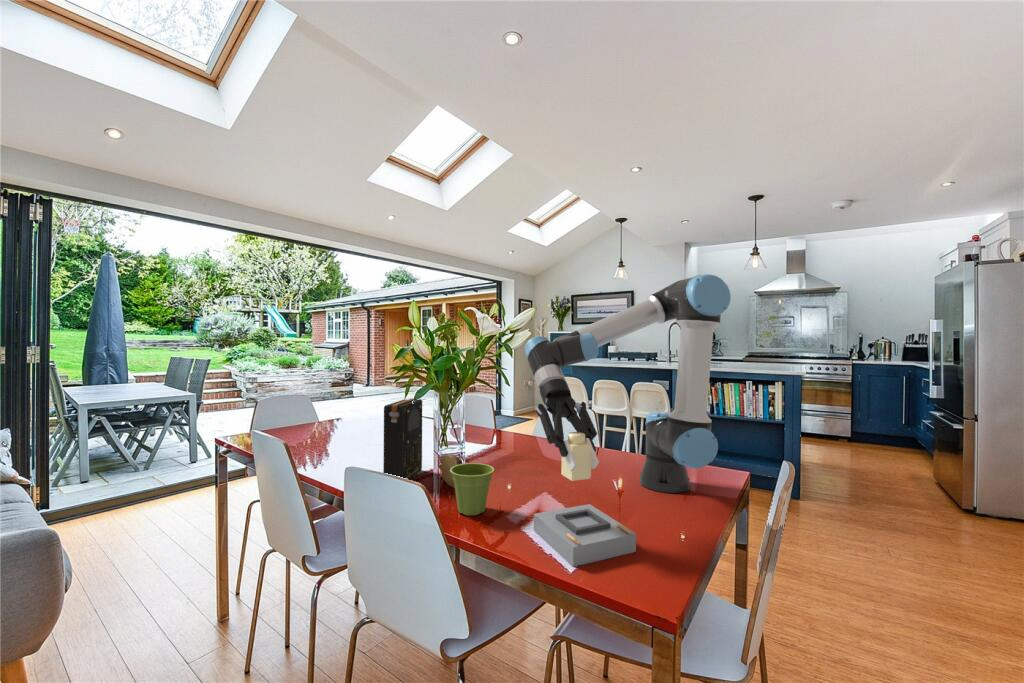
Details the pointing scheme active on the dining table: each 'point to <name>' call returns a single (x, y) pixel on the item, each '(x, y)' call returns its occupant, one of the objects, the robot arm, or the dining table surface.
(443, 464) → the wooden carving
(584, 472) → the dome-topped cream pillar
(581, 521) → the ball-topped post base
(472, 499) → the plant pot
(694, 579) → the dining table surface
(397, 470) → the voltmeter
